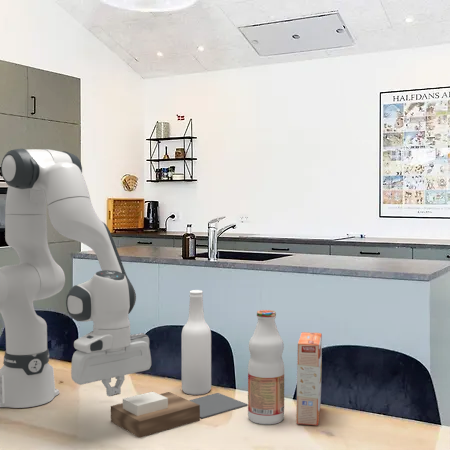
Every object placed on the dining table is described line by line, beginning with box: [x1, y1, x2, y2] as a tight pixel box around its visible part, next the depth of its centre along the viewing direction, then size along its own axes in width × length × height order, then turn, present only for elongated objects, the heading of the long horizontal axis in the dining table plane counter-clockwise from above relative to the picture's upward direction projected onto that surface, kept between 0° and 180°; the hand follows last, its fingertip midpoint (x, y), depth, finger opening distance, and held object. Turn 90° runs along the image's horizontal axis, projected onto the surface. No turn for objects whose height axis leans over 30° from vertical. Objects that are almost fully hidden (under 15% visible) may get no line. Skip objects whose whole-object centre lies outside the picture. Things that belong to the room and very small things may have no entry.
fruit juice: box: [247, 309, 285, 425], centre depth 154 cm, size 9×9×28 cm
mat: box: [188, 392, 248, 420], centre depth 164 cm, size 13×16×1 cm
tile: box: [122, 391, 168, 416], centre depth 151 cm, size 7×9×2 cm
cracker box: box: [295, 331, 323, 427], centre depth 156 cm, size 14×6×21 cm, turn 168°
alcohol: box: [181, 289, 212, 396], centre depth 177 cm, size 9×9×30 cm
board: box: [110, 391, 201, 439], centre depth 153 cm, size 14×18×4 cm
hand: (113, 394), depth 144 cm, fingers closed
